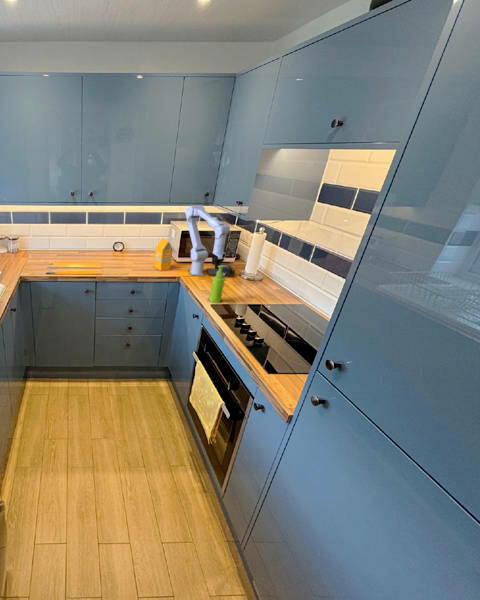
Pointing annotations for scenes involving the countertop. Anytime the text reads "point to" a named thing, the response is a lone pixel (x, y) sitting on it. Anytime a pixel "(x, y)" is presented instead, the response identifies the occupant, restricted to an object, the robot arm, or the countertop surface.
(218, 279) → the soap dispenser
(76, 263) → the countertop surface
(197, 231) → the robot arm
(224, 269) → the trainer
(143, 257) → the countertop surface
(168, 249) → the orange juice
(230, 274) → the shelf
